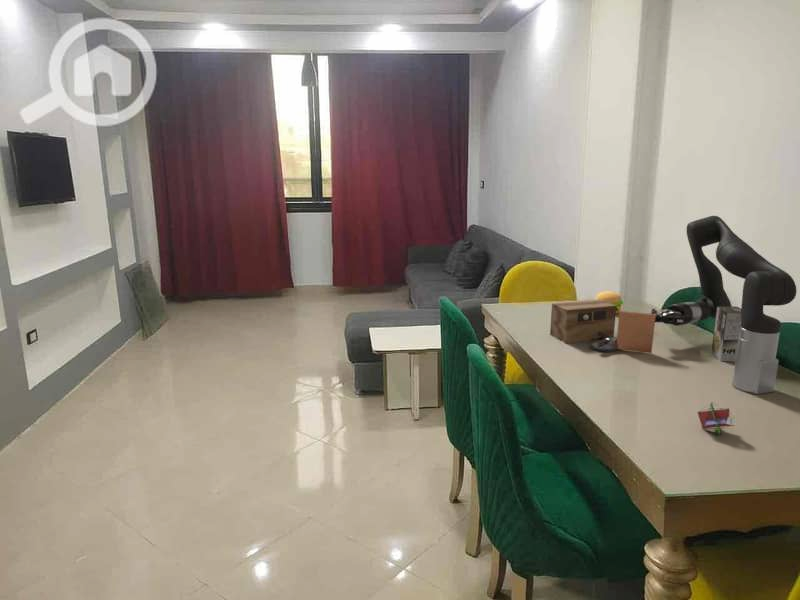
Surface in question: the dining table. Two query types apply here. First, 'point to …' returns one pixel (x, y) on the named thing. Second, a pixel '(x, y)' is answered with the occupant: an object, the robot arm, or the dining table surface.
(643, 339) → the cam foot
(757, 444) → the dining table surface
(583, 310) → the wooden box
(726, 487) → the dining table surface
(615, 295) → the hamburger
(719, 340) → the coffee box
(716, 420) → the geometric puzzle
